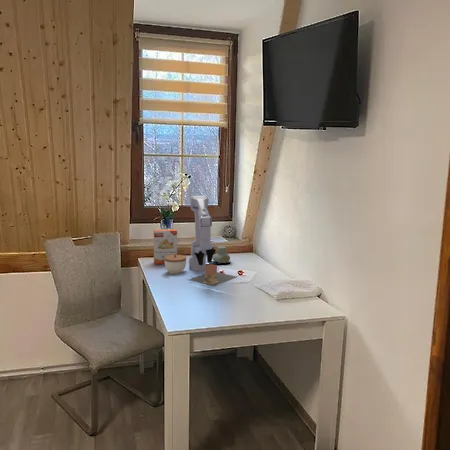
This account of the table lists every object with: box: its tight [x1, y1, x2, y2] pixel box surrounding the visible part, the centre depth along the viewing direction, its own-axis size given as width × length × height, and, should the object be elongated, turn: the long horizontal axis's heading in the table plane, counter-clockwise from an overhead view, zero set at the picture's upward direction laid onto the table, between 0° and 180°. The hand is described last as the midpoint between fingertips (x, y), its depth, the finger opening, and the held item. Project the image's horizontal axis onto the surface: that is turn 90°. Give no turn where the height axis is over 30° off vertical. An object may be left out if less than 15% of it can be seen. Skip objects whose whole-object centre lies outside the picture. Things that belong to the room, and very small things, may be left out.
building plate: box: [188, 271, 238, 287], centre depth 264 cm, size 18×22×1 cm
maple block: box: [204, 273, 217, 284], centre depth 257 cm, size 4×4×4 cm
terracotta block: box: [204, 263, 218, 275], centre depth 256 cm, size 4×4×4 cm
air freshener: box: [212, 245, 231, 264], centre depth 300 cm, size 11×8×10 cm
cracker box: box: [153, 228, 178, 265], centre depth 296 cm, size 14×6×21 cm, turn 102°
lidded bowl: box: [164, 254, 187, 275], centre depth 276 cm, size 13×13×11 cm
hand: (205, 263), depth 258 cm, fingers open, 7 cm apart
